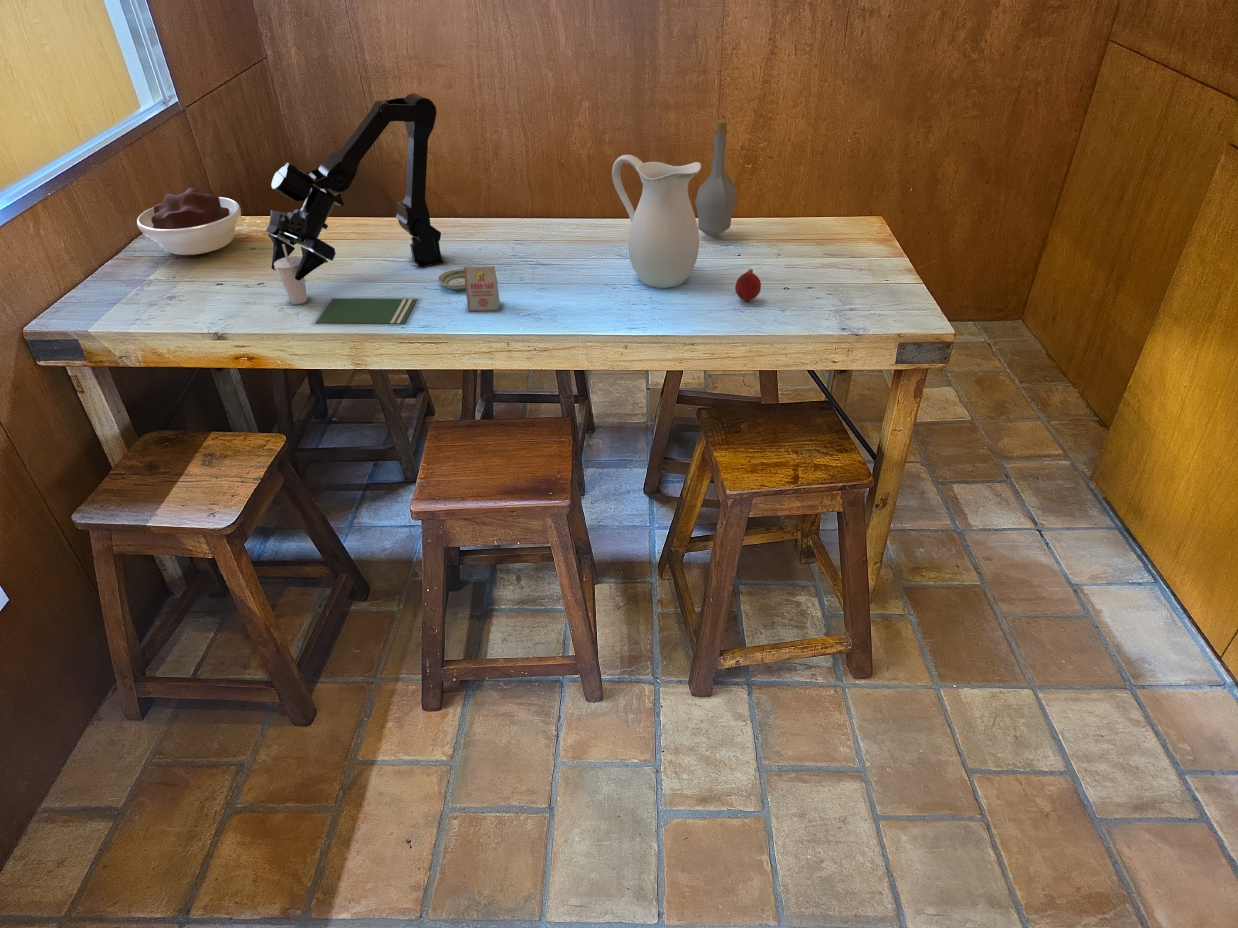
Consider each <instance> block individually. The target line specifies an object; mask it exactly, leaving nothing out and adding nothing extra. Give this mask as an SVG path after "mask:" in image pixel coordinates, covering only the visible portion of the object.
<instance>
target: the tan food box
mask: <svg viewBox="0 0 1238 928" xmlns="http://www.w3.org/2000/svg"><path fill="white" fill-rule="evenodd" d="M463 269H464V272H465V288H466V289H465V295H466V302H467V309H468V310H467V311H468V312H471V313H472V312H499V309H500V304H501V301H500V293H499V284H498V278H497V272H496V268H495V265H494V266H492V265H491V266H489V265H487V266H464V267H463Z"/></svg>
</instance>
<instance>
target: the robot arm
mask: <svg viewBox="0 0 1238 928" xmlns="http://www.w3.org/2000/svg"><path fill="white" fill-rule="evenodd" d="M437 112H438V111H437V107H436V105H435V103H434V101H432V100H431V99H430V98H428V97H425V96H424V95H421V94H419V93H417V92H416V93H415V92H412V93H409V94H407V95H406V96H405V97H395V98H390V99H384V100H383V99H379V100H376V101H374V103H373V105H372V108H371V109H370V111H368V113H367V114H366V115H365V117H364V118H363V119H362V121H361V122H360V124H359V125H358V126H357V128H356V129H355V130H354V132H352V134H351V136H350V137H349V138H348V139H347V140H346V142H345V143H344V144H343V146H342V147H341V148H340V149H339V150H337V151H335V152H333V153H332V154H330V155H329V156H328V157H327V158H326V159H325V160H323V162H322V163H321V164H320V165H319V167H316V168H314V169H311V170H308V171H305V172H303V171H302V170H301V169H299V168H297V167H296V165H294V164H293V163H291V162H290V161H287V162H286V163H285V164H284V165H283V166H282V167H280V168H279V169H278V170H277V171H276V172H275V173H274V175H273V177H272V180H271V188H272V190H274V191H276V192H278V193H279V194H281V195H282V196H285V197H286V198H288V199H290V201H293V202H294V203H299V202H303V203H302V206H301V208H300V209H299V208H295V209H294V211H293V212H292V211H289V212H283V211H277V210H270V214H269V215H270V217H269V223H268V225H267V228H266V229H265V232H267V236H268V238H270V240H271V242H272V257H271V267H270V268H271V269H272V270H273V271H277V270H275V267H274V263H275V262H276V261H277V260H279V259H281V258H285V253H284V250H283V246H282V244H285V247H286V251H287V254H288V257H290V256H291V254H292V253H293V252H294V251H295V249H296V247H295V245H300V250H301V255H302V256H301V262H300V264H299V267H298V269H297V272H296V275H295V279H296V280H298V281H299V280H301V279H302V278H303V277H304V278H305V277H306V276H307V275H309V274H310V273H311V272H313V271H314V270H316V269H317V268H319V267H320V266H322V265H324V264H325V263H326V264H327V263H329V261H331V262H332V261H334V259H335V257H336V254H337V253H336V249H335V247H333V246H331V245H330V244H328V243H327V242H325V241H323V240H322V239H319V236H320V234H321V232H322V230H323V229H324V230H327V229H328V227H329V225H328V224H327V223H326V221H327V220H328V219H329V215H330V213H331V212H332V209H333V207H334V205H336V206H341V207H344V206H345V202H344V200H343V198H342V193H343V192H346V191H348V190H349V189H350V187H351V185H352V184H353V182H354V179H355V177H356V175H357V173H358V168H359V165H360V163H361V162H362V160H363V159H364V157H365V156H366V155H367V154H368V152H369V151H370V149H371V148H372V147H373V145H374V144H375V143H376V142H377V140H378V139H379V138H380V136H381V134H383V131H384V130H385V129H386V128H387V127H388V125H389V124H390V123H391V122H403V124H404V126H405V130H406V133H407V152H406V154H407V155H406V157H407V158H406V180H405V181H406V182H405V196H404V197H403V200H402V202H401V201H397V202H396V209H397V210H396V211H397V212H396V215H395V218H396V219H397V220H398V225H399V226H400V227H401V228H402V229H403V230H404V231H405V232H406V233H408V235H410V236H411V237H410V240H411V243H410V244H409V246H410V252H411V257H412V260H413V262H414V263H415V264H416V265H417V267H419V268H422V267H428V266H434V265H439V264H443V263H444V259H443V258H442V253H441V247H440V241H441V237H442V232H441V231H440V230H438V229H437V228H435V227H434V226H433V225H431V217H430V211H429V208H428V205H427V202H426V191H427V168H428V148H429V139H430V136H431V134H432V132H433V130H434V128H435V123H436V119H437V114H438V113H437ZM331 190H332V191H333V192H335V193H333V192H332V191H331Z"/></svg>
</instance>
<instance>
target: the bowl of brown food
mask: <svg viewBox="0 0 1238 928" xmlns="http://www.w3.org/2000/svg"><path fill="white" fill-rule="evenodd" d="M241 215H242V208H241V206H240V205H239V203H238V202H237V201H235V200H233V199H230V198H228V197H221V196H218V195H215V194H212V193H206V192H205V191H203V190H201V189H199V188H194V187H189V188H187V189H186V190H185V191H184V192H182V193H179V194H173V193H166V194H165V196H164V197H163V200H162V202H161V203H158V204H155V205H154V206H153V207H150V208H148V209H146V210H144V211H143V212H141V214H139V216H138V217H137V219H136V225H137V227H138V230H139V231H140V232H141V233H142V234H143V235H144V236H146V237H147V238H149V239H150V240H152V241H154V242H156V243H157V244H158V246H160V248H161V249H162V250H164V251H165V252H167V253H169V254H174V255H177V256H178V255H179V256H195V255H201V254H207V253H212V252H214V251H217V250H221V249H222V248H224V247H226V246H227V245H229V244H230V243H231V242H232V241H233V240H234V238H235V233H236V227H237V226H238V224H239V222H240V219H241V217H242V216H241Z"/></svg>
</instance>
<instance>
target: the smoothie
mask: <svg viewBox="0 0 1238 928" xmlns="http://www.w3.org/2000/svg"><path fill="white" fill-rule="evenodd" d="M282 246H283V250H284V253H285V258H281V259H279V260H277V261H276V262H275V263H274V267H275V270H276V271H277V274H278V276H279V279H280V281H281V283H282V285H283V287H284V290H285V292H286V295H287V296H288V299H289V302H290V303H291V304H292V305H302V304H304V303H306V302H308V294H307V287H306V280H305V277H303V278H302V279H301V280H299V281H298V280H296V279H295V275H296V272H297V269H298V267H299V264H300V262H301V259H302V257H299V256H288V254H287V251H286V247H285V244H282ZM275 270H274V271H275Z"/></svg>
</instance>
